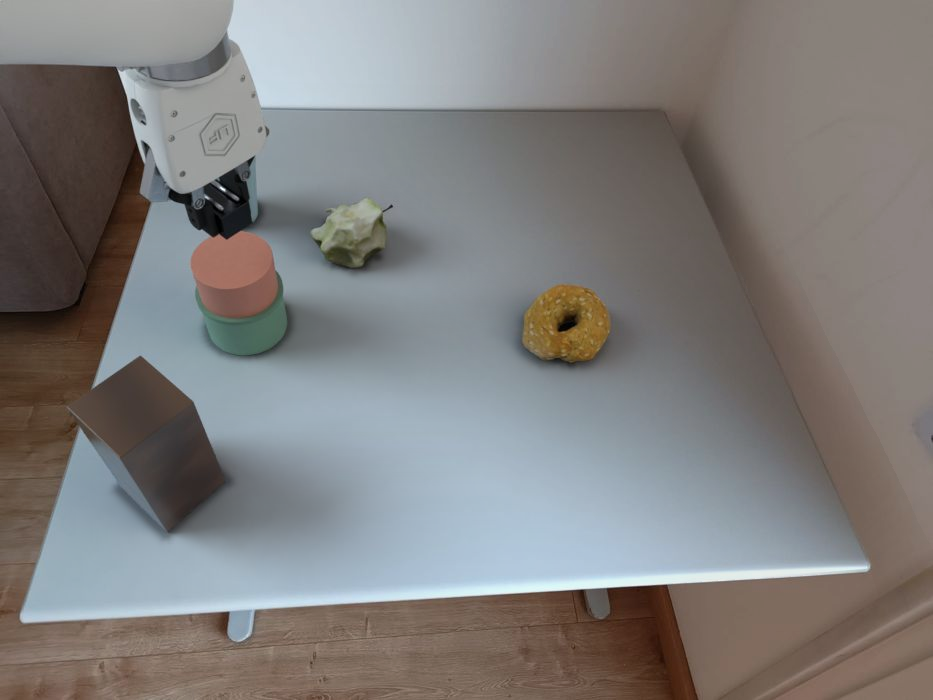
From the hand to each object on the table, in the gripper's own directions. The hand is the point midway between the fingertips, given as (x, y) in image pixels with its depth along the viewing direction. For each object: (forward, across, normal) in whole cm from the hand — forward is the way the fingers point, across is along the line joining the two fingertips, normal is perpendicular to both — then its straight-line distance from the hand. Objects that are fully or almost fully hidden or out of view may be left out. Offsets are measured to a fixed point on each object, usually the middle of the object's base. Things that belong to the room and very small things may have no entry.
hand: (222, 217), depth 69 cm
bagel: (+17, +24, -28) cm, 41 cm away
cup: (+17, +11, +15) cm, 25 cm away
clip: (0, 0, 0) cm, 0 cm away
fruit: (+17, +17, 0) cm, 24 cm away
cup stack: (+17, 0, 0) cm, 17 cm away
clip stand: (+17, -18, -10) cm, 27 cm away
